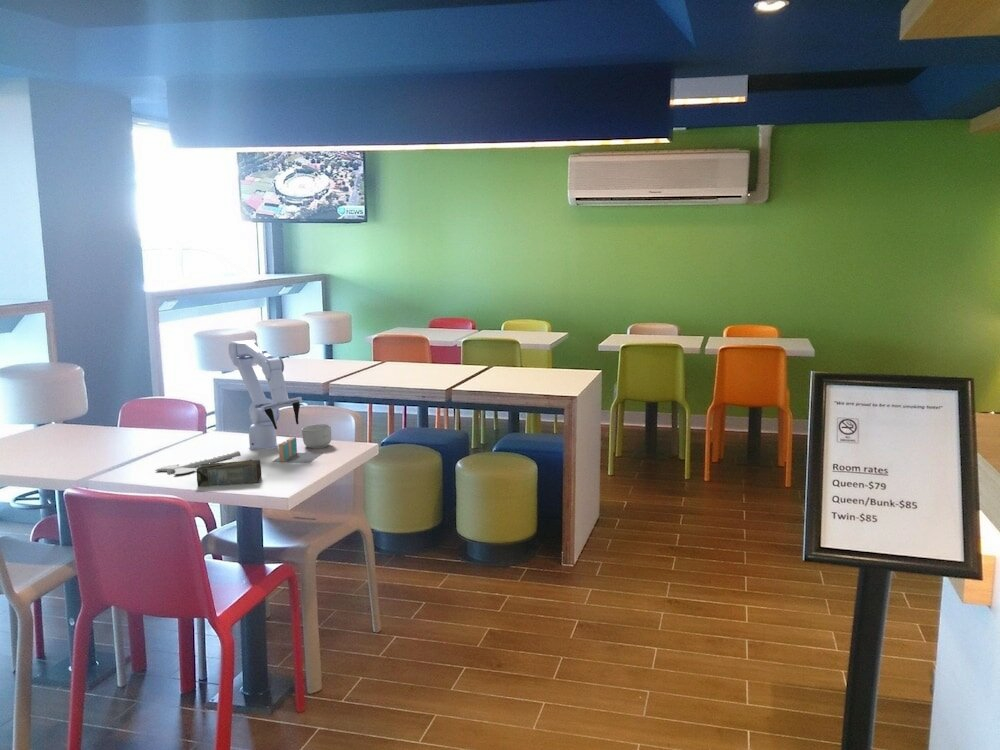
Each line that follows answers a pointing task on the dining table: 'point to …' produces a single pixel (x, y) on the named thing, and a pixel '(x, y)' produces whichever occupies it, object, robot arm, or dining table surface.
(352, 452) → the dining table surface
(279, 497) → the dining table surface
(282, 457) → the tile
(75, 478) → the dining table surface
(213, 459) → the axe
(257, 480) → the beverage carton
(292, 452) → the tile
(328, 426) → the teacup
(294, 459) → the mat
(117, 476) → the dining table surface
